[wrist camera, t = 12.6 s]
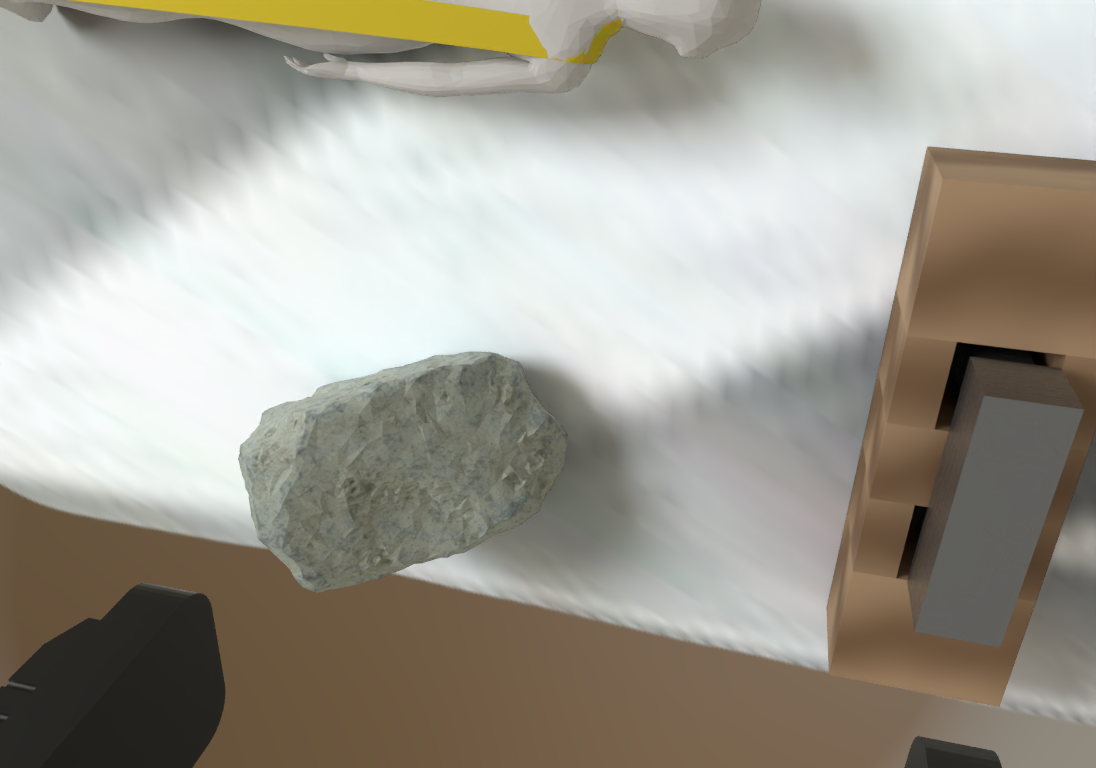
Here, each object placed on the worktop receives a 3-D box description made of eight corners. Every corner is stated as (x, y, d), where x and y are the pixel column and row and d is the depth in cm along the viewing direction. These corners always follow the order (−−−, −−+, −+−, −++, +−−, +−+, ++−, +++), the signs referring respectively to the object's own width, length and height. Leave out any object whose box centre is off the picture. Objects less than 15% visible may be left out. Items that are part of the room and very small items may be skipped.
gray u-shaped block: (950, 302, 38) (984, 395, 31) (1031, 312, 37) (1083, 409, 30) (896, 510, 42) (914, 631, 36) (967, 521, 42) (1000, 647, 35)
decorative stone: (290, 496, 50) (330, 662, 43) (196, 344, 42) (226, 518, 35) (528, 399, 52) (604, 542, 45) (481, 235, 44) (565, 379, 37)
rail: (927, 146, 35) (942, 178, 31) (1133, 164, 34) (1176, 199, 30) (826, 607, 46) (829, 674, 42) (981, 634, 44) (999, 706, 40)
